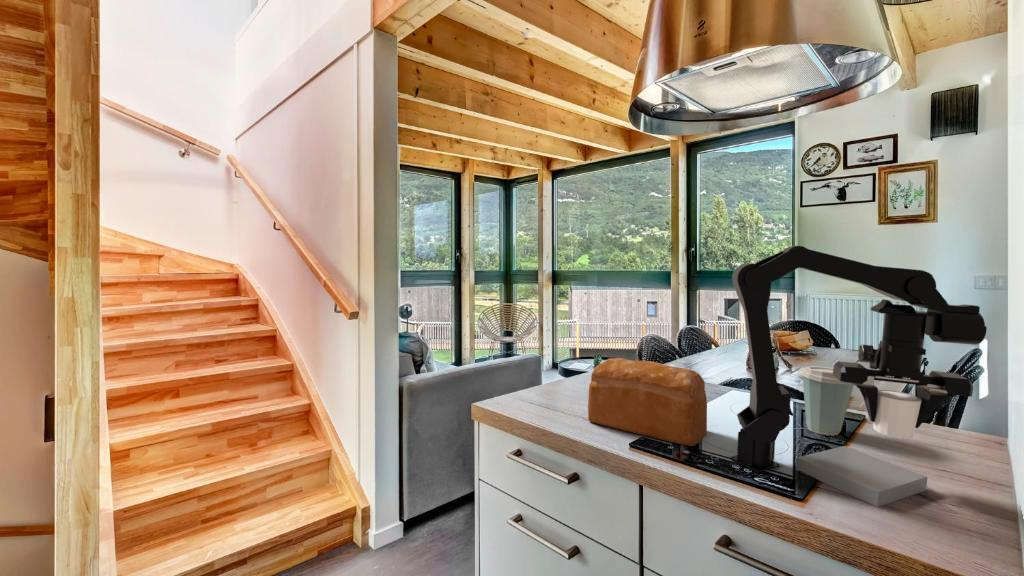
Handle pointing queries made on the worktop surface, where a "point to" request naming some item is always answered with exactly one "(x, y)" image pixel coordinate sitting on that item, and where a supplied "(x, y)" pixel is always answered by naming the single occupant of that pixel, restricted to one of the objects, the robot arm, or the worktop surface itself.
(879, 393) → the white cup
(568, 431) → the worktop surface
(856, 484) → the slate board
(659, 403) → the bread
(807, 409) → the disposable coffee cup
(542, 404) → the worktop surface
